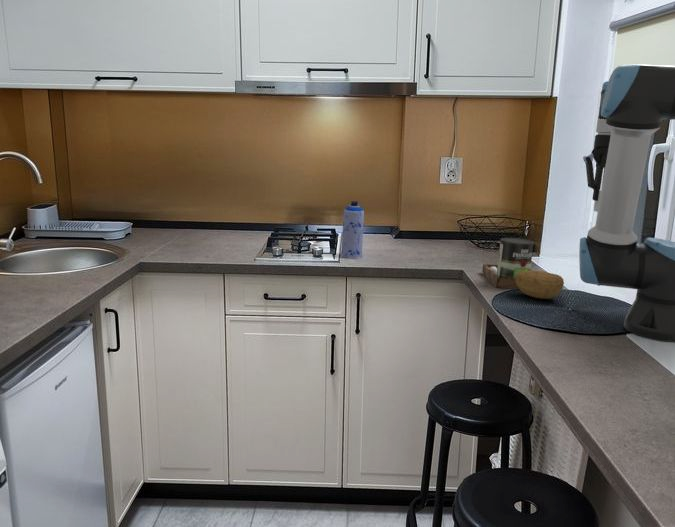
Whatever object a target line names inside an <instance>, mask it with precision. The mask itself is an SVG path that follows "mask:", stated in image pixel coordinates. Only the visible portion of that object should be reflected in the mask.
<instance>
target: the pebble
mask: <svg viewBox="0 0 675 527" xmlns="http://www.w3.org/2000/svg"><path fill="white" fill-rule="evenodd" d="M490 269H491V270H492V271H493V272H494V273H495V274H496V275H497V268H496V267H494V266H492V267H490Z"/></svg>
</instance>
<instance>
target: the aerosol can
mask: <svg viewBox="0 0 675 527" xmlns="http://www.w3.org/2000/svg"><path fill="white" fill-rule="evenodd" d="M358 203H359V202H358V201H355V200H354V201H353V200H352V201H351V202H350V204H349V205H348V206H346V207H345V208H344V209H343V218H342V233H341V235H342V236H341V254H340V257H341V258H345V259H350V260H356V259H358V260H359V259H361V258H363V244H364V242H363V240H364V225H365V224H364V222H365V211H364V209H363V207H361V206H360V205H359V204H358Z"/></svg>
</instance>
